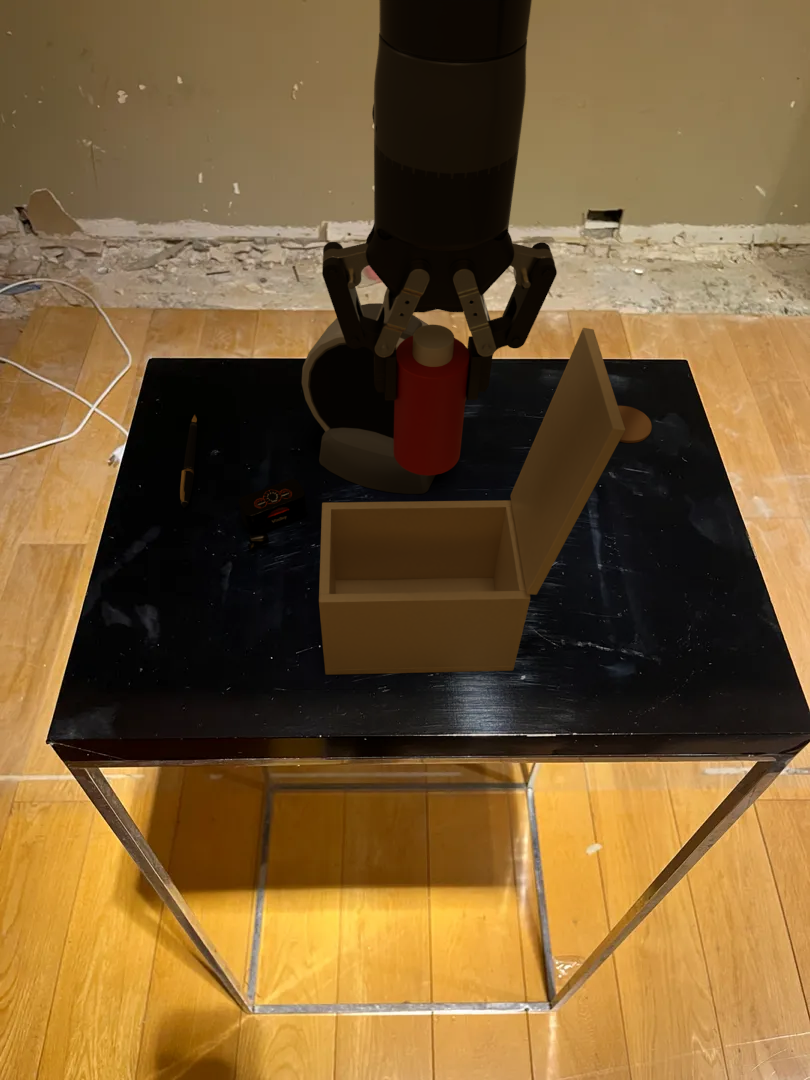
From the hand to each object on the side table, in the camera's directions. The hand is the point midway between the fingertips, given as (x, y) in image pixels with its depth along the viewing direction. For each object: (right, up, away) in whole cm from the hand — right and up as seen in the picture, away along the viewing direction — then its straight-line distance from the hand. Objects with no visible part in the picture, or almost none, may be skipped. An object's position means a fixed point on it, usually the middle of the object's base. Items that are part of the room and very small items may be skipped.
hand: (430, 391), depth 55 cm
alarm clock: (-4, -1, +35) cm, 35 cm away
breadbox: (-1, -18, +21) cm, 27 cm away
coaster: (+23, +3, +39) cm, 46 cm away
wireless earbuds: (-15, -9, +28) cm, 33 cm away
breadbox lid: (+9, -5, +6) cm, 12 cm away
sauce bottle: (0, -4, +4) cm, 6 cm away
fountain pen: (-25, -2, +34) cm, 42 cm away
